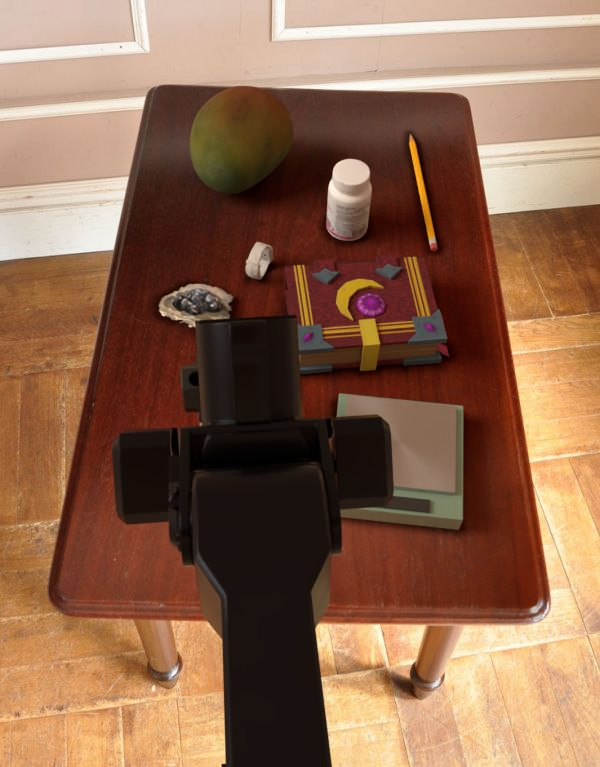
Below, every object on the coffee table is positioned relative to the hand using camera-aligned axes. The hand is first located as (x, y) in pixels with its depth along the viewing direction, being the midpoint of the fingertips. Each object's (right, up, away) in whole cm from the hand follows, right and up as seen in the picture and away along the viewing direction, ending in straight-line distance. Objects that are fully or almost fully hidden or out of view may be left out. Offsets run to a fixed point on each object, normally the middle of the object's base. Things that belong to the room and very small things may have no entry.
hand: (252, 451), depth 67 cm
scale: (+13, -2, +14) cm, 19 cm away
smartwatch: (-1, +17, +27) cm, 32 cm away
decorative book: (+10, +11, +23) cm, 28 cm away
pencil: (+18, +28, +35) cm, 48 cm away
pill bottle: (+9, +23, +31) cm, 40 cm away
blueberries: (-7, +13, +24) cm, 28 cm away
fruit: (-3, +30, +36) cm, 47 cm away
